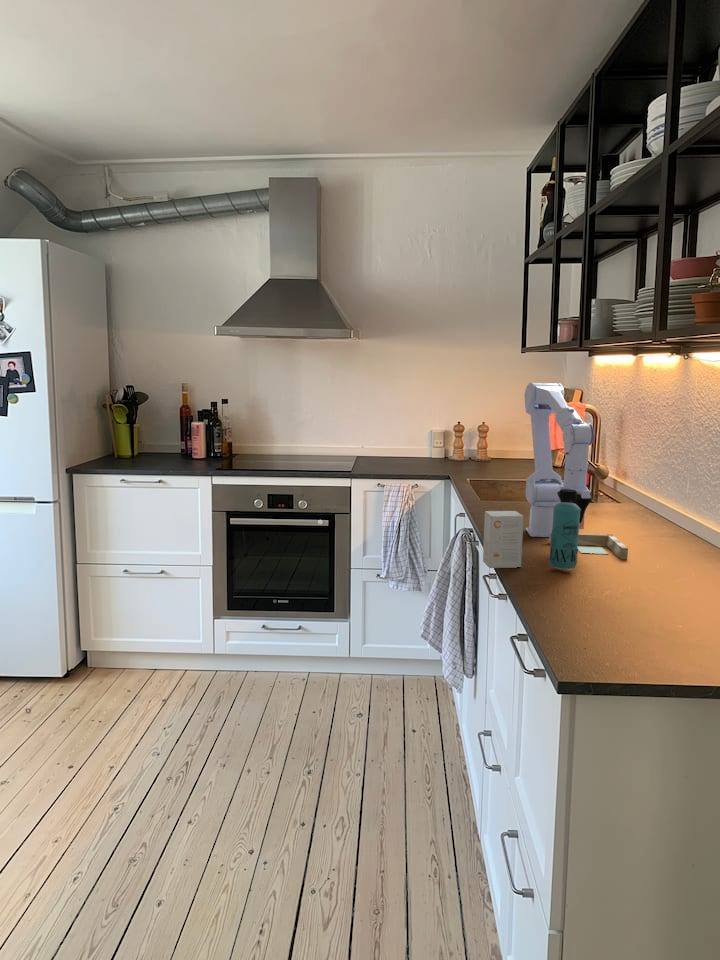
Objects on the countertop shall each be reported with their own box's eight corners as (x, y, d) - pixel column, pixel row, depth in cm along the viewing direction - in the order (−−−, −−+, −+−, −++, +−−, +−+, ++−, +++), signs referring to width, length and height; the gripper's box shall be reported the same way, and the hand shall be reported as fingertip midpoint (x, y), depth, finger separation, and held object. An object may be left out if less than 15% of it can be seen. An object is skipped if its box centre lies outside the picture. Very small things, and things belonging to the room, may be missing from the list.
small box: (513, 561, 181) (516, 510, 179) (521, 568, 175) (524, 515, 173) (481, 561, 180) (484, 510, 178) (488, 568, 174) (491, 515, 172)
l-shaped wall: (548, 542, 200) (549, 532, 200) (611, 545, 199) (611, 534, 198) (559, 557, 185) (560, 545, 185) (627, 559, 184) (628, 548, 184)
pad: (575, 546, 196) (575, 546, 196) (601, 547, 196) (601, 547, 196) (581, 553, 189) (581, 552, 189) (608, 554, 189) (608, 553, 189)
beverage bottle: (542, 569, 174) (547, 487, 171) (564, 566, 177) (570, 486, 174) (560, 576, 168) (565, 492, 165) (582, 573, 171) (588, 491, 168)
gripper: (550, 465, 195) (547, 514, 197) (573, 473, 180) (569, 526, 183) (575, 465, 196) (571, 514, 198) (599, 473, 181) (595, 526, 184)
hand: (572, 520), depth 190 cm, fingers closed on cube, 5 cm apart
